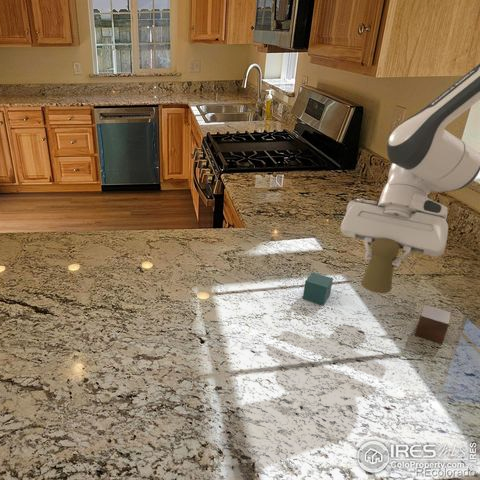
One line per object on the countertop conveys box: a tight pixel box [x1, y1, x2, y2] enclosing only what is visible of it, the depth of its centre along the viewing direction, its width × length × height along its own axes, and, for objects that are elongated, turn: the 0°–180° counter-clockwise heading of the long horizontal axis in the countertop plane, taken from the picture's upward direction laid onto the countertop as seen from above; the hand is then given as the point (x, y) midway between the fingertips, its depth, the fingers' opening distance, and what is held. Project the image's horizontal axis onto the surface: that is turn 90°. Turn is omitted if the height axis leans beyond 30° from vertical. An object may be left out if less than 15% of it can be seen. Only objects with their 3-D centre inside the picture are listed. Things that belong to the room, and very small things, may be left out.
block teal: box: [302, 272, 334, 306], centre depth 102 cm, size 5×5×5 cm
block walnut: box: [414, 304, 452, 345], centre depth 89 cm, size 5×5×5 cm
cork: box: [360, 238, 400, 294], centre depth 91 cm, size 6×6×11 cm
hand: (381, 262), depth 90 cm, fingers closed on cork, 4 cm apart
